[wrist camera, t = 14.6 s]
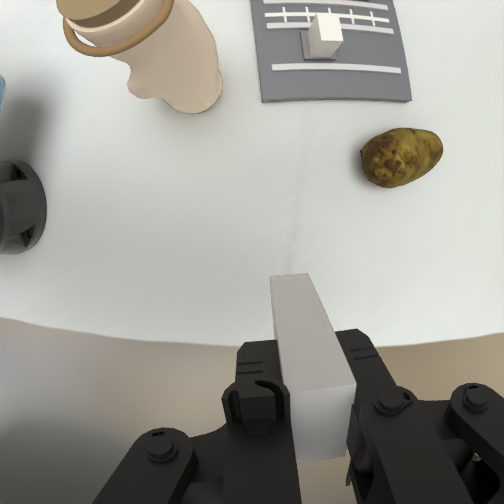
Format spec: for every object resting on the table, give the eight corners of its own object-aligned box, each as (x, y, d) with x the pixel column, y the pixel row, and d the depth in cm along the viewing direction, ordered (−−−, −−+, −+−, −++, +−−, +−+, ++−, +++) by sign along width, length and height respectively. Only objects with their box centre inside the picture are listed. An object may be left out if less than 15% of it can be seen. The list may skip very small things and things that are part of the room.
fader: (303, 60, 33) (314, 41, 27) (299, 33, 32) (308, 10, 25) (334, 60, 33) (350, 43, 26) (330, 33, 32) (344, 12, 25)
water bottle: (141, 76, 35) (4, -5, 9) (196, 36, 34) (124, -100, 7) (183, 132, 38) (60, 94, 11) (240, 91, 36) (219, -26, 10)
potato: (428, 191, 40) (459, 199, 32) (347, 182, 40) (369, 188, 32) (432, 134, 38) (463, 133, 30) (350, 120, 37) (372, 113, 30)
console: (262, 102, 37) (262, 98, 34) (244, -40, 30) (244, -50, 27) (405, 102, 36) (414, 99, 34) (376, -34, 29) (381, -42, 27)
